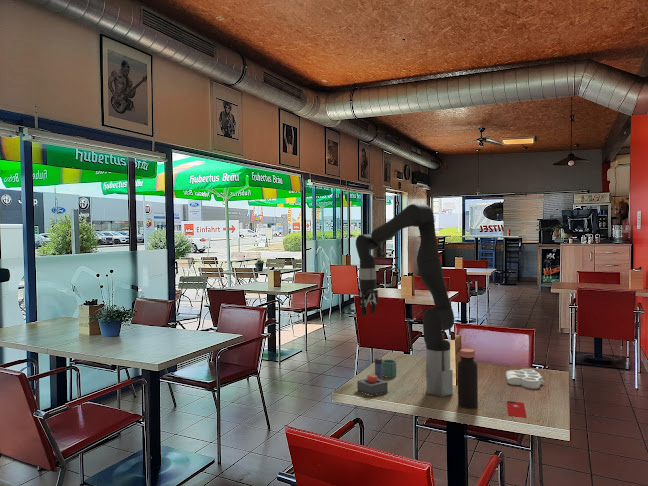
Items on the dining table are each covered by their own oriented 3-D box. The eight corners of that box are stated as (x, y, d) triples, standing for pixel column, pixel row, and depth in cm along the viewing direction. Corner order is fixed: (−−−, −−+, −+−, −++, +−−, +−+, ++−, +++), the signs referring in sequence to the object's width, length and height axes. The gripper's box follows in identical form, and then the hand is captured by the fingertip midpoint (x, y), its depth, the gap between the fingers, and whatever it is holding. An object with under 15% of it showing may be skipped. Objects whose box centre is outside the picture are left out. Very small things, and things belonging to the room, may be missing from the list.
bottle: (478, 409, 167) (478, 352, 167) (458, 408, 168) (458, 352, 168) (476, 402, 174) (476, 348, 173) (457, 401, 175) (456, 347, 175)
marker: (383, 383, 198) (383, 359, 198) (378, 384, 197) (377, 360, 197) (379, 381, 201) (378, 357, 201) (373, 382, 199) (373, 358, 199)
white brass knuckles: (505, 374, 209) (542, 377, 205) (507, 387, 192) (547, 390, 187) (505, 367, 209) (542, 369, 204) (507, 379, 192) (547, 382, 187)
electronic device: (526, 419, 159) (523, 404, 173) (526, 417, 159) (523, 402, 173) (508, 417, 161) (506, 402, 175) (508, 415, 161) (506, 400, 175)
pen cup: (399, 375, 209) (399, 361, 209) (388, 377, 206) (388, 364, 205) (389, 372, 214) (389, 358, 214) (379, 374, 211) (379, 360, 211)
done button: (379, 384, 187) (379, 376, 187) (371, 386, 185) (371, 378, 185) (373, 381, 191) (373, 374, 191) (365, 383, 189) (365, 375, 189)
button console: (387, 392, 187) (387, 382, 187) (370, 396, 182) (370, 386, 182) (373, 386, 194) (373, 376, 194) (357, 390, 189) (357, 380, 189)
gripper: (367, 279, 208) (368, 316, 208) (382, 277, 220) (383, 312, 220) (352, 279, 212) (353, 315, 212) (368, 277, 224) (369, 311, 224)
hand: (368, 314), depth 216 cm, fingers open, 8 cm apart
